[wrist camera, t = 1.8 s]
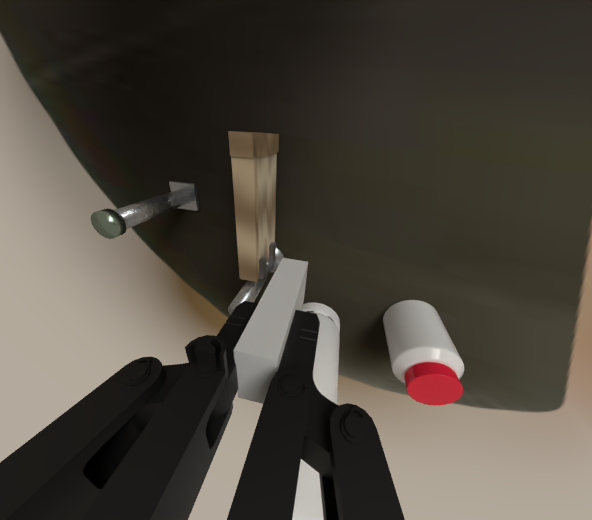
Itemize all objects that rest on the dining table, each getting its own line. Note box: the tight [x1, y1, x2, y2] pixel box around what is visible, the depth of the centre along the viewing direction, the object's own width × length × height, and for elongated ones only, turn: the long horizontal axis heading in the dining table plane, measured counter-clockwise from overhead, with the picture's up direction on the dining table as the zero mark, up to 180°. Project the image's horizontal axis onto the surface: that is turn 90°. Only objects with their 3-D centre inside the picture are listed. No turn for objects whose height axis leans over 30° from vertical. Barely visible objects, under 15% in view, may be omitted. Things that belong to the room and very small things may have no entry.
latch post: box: [91, 181, 200, 239], centre depth 26 cm, size 4×4×12 cm
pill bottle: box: [383, 300, 464, 405], centre depth 29 cm, size 8×8×11 cm
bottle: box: [292, 303, 340, 520], centre depth 26 cm, size 8×8×28 cm
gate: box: [228, 131, 279, 282], centre depth 25 cm, size 15×2×8 cm, turn 176°
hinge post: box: [228, 246, 285, 315], centre depth 28 cm, size 4×4×12 cm
